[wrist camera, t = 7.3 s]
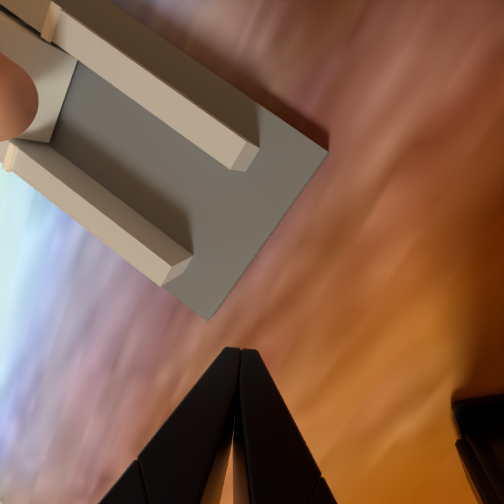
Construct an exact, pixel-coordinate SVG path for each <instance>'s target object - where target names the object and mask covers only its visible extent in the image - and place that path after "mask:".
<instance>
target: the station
mask: <svg viewBox="0 0 504 504" xmlns="http://www.w3.org/2000/svg"><path fill="white" fill-rule="evenodd" d="M0 10H1V11H2V12H4V13H6V14H8V15H10V16H12V17H14V18H16V19H18V20H20V21H22V22H23V23H25V24H27V25H29V26H31V27H33V28H34V29H36V30H37V31H39V32H40V33H41V37H42V38H44V39H45V40H46V41H48V42H50V43H51V41H52V42H54V43H55V44H57V45H58V46H59V47H61V48H62V49H64V50H65V51H66V52H68V53H69V54H70V55H72V56H73V57H75V58H76V59H77V63H76V66H75V69H74V72H73V74H72V77H71V80H70V83H69V86H68V89H67V92H66V95H65V98H64V101H63V104H62V106H61V109H60V112H59V115H58V118H57V121H56V124H55V127H54V130H53V133H52V136H51V138H50V141H49V143H47V142H40V141H34V140H27V139H20V138H13V139H10V140H7V141H3V142H0V162H1V163H2V164H3V166H2V168H3V169H4V170H5V171H7V172H11V171H13V172H14V173H15V174H17V175H18V176H19V177H20V178H22V179H23V180H24V181H26V182H27V183H28V184H29V185H31V186H32V187H33V188H34V189H36V190H37V191H38V192H40V193H41V194H42V195H43V196H45V197H46V198H47V199H49V200H50V201H51V202H52V203H54V204H55V205H56V206H57V207H59V208H60V209H61V210H63V211H64V212H65V213H66V214H68V215H69V216H70V217H72V218H73V219H74V220H75V221H77V222H78V223H79V224H81V225H82V226H83V227H84V228H86V229H87V230H88V231H89V232H91V233H92V234H93V235H95V236H96V237H97V238H98V239H100V240H101V241H102V242H104V243H105V244H106V245H107V246H109V247H110V248H111V249H113V250H114V251H115V252H116V253H118V254H119V255H120V256H121V257H123V258H124V259H125V260H127V261H128V262H129V263H130V264H132V265H133V266H134V267H136V268H137V269H138V270H139V271H141V272H142V273H143V274H145V275H146V276H147V277H148V278H150V279H151V280H152V281H153V282H155V283H156V284H157V285H159V286H162V287H163V288H165V289H166V290H167V291H168V292H170V293H171V294H172V295H174V296H175V297H176V298H177V299H179V300H180V301H181V302H182V303H184V304H185V305H186V306H188V307H189V308H190V309H191V310H193V311H194V312H195V313H197V314H198V315H199V316H200V317H202V318H203V319H204V320H206V321H207V322H208V321H209V320H210V319H211V318H212V317H213V316H214V314H215V313H216V312H217V310H218V309H219V307H220V306H221V304H222V303H223V302H224V300H225V299H226V297H227V296H228V295H229V293H230V292H231V290H232V289H233V288H234V286H235V285H236V283H237V282H238V281H239V279H240V278H241V276H242V275H243V274H244V272H245V271H246V269H247V268H248V267H249V265H250V264H251V262H252V261H253V260H254V258H255V257H256V255H257V254H258V253H259V251H260V250H261V248H262V247H263V246H264V244H265V243H266V241H267V240H268V239H269V237H270V236H271V234H272V233H273V232H274V230H275V229H276V227H277V226H278V224H279V223H280V222H281V220H282V219H283V217H284V216H285V215H286V213H287V212H288V210H289V209H290V208H291V206H292V205H293V203H294V202H295V201H296V199H297V198H298V196H299V195H300V194H301V192H302V191H303V189H304V188H305V187H306V185H307V184H308V182H309V181H310V180H311V178H312V177H313V175H314V174H315V173H316V171H317V170H318V168H319V167H320V166H321V164H322V163H323V161H324V160H325V159H326V157H327V156H328V154H329V152H328V151H326V150H325V149H323V148H322V147H320V146H319V145H317V144H316V143H315V142H313V141H312V140H310V139H309V138H307V137H306V136H304V135H303V134H302V133H300V132H299V131H297V130H296V129H294V128H293V127H291V126H290V125H289V124H287V123H286V122H284V121H283V120H281V119H280V118H278V117H277V116H276V115H274V114H273V113H271V112H270V111H268V110H267V109H265V108H264V107H263V106H261V105H260V104H258V103H257V102H255V101H254V100H252V99H251V98H250V97H248V96H247V95H245V94H244V93H242V92H241V91H239V90H238V89H237V88H235V87H234V86H232V85H231V84H229V83H228V82H226V81H225V80H224V79H222V78H221V77H219V76H218V75H216V74H215V73H213V72H212V71H211V70H209V69H208V68H206V67H205V66H203V65H202V64H200V63H199V62H198V61H196V60H195V59H193V58H192V57H190V56H189V55H187V54H186V53H185V52H183V51H182V50H180V49H179V48H177V47H176V46H174V45H173V44H172V43H170V42H169V41H167V40H166V39H164V38H163V37H161V36H160V35H159V34H157V33H156V32H154V31H153V30H151V29H150V28H148V27H147V26H146V25H144V24H143V23H141V22H140V21H138V20H137V19H135V18H134V17H133V16H131V15H130V14H128V13H127V12H125V11H124V10H122V9H121V8H120V7H118V6H117V5H115V4H114V3H112V2H111V1H109V0H0Z"/></svg>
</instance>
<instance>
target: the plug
mask: <svg viewBox="0 0 504 504" xmlns="http://www.w3.org/2000/svg"><path fill="white" fill-rule="evenodd" d="M76 63H77V59H76V58H75V57H73V56H72V55H70V54H69V53H68V52H66V51H65V50H64V49H62V48H61V47H59V46H58V45H57V44H55V43H54V42H52V41H51V43H50V42H48V41H46V40H45V39H44V38H42V37H41V33H40V32H39V31H37V30H36V29H34V28H33V27H31V26H29V25H27V24H25V23H23V22H22V21H20V20H18V19H16V18H14V17H12V16H10V15H8V14H6V13H4V12H2V11H1V10H0V142H3V141H7V140H10V139H13V138H20V139H27V140H34V141H40V142H47V143H49V141H50V138H51V136H52V133H53V130H54V127H55V124H56V121H57V118H58V115H59V112H60V109H61V106H62V104H63V101H64V98H65V95H66V92H67V89H68V86H69V83H70V80H71V77H72V74H73V72H74V69H75V66H76Z"/></svg>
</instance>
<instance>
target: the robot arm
mask: <svg viewBox="0 0 504 504" xmlns="http://www.w3.org/2000/svg"><path fill="white" fill-rule="evenodd" d="M240 356H241V358H240ZM235 409H236V411H235ZM451 410H452V413H453V416H454V419H455V421H456V424H457V427H458V430H459V433H460V436H461V439H459V440H457V441H456V443H455V446H456V449H457V452H458V455H459V457H460V460H461V463H462V466H463V469H464V472H465V475H466V477H467V480H468V482H469V484H470V487H471V489H472V491H473V493H474V495H475V497H476V500H477V502H478V504H504V394H503V395H496V396H489V397H482V398H475V399H468V400H460V401H456V402H454V403H453V404H452V406H451ZM461 410H466V411H465V412H460V411H461ZM234 420H235V422H234ZM233 430H234V433H233ZM232 438H233V504H338V503H337V502H336V500H335V498H334V496H333V494H332V492H331V490H330V488H329V486H328V484H327V482H326V481H325V479H324V477H321V471H320V469H319V467H318V466H317V464H316V462H315V460H314V458H313V456H312V454H311V452H310V450H309V448H308V446H307V444H306V442H305V440H304V439H303V437H302V435H301V433H300V431H299V429H298V427H297V425H296V423H295V421H294V419H293V417H292V415H291V414H290V412H289V410H288V408H287V406H286V404H285V402H284V400H283V398H282V396H281V394H280V392H279V390H278V389H277V387H276V385H275V383H274V381H273V379H272V377H271V375H270V373H269V371H268V369H267V367H266V365H265V363H264V362H263V360H262V358H261V356H260V354H259V352H258V351H257V350H256V349H246V348H243V349H242V350H241V349H240V348H236V347H225V348H224V349H223V350H222V351H221V353H220V354H219V355H218V356H217V358H216V359H215V360H214V361H213V363H212V364H211V365H210V366H209V368H208V369H207V370H206V371H205V373H204V374H203V375H202V376H201V378H200V379H199V380H198V381H197V383H196V384H195V385H194V386H193V388H192V389H191V390H190V391H189V392H188V394H187V395H186V396H185V397H184V399H183V400H182V401H181V402H180V404H179V405H178V406H177V407H176V409H175V410H174V411H173V412H172V414H171V415H170V416H169V417H168V419H167V420H166V421H165V422H164V424H163V425H162V426H161V427H160V429H159V430H158V431H157V432H156V434H155V435H154V436H153V437H152V438H151V440H150V441H149V442H148V443H147V445H146V446H145V447H144V448H143V450H142V451H141V452H140V453H139V455H138V456H137V460H134V461H133V462H132V463H131V464H130V466H129V467H128V468H127V469H126V471H125V472H124V473H123V474H122V476H121V477H120V478H119V479H118V480H117V482H116V483H115V484H114V485H113V486H112V488H111V489H110V490H109V491H108V492H107V493H106V495H105V496H104V497H103V498H102V499H101V501H100V502H99V503H98V504H220V499H221V494H222V489H223V485H224V480H225V475H226V470H227V466H228V461H229V456H230V451H231V445H232Z"/></svg>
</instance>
